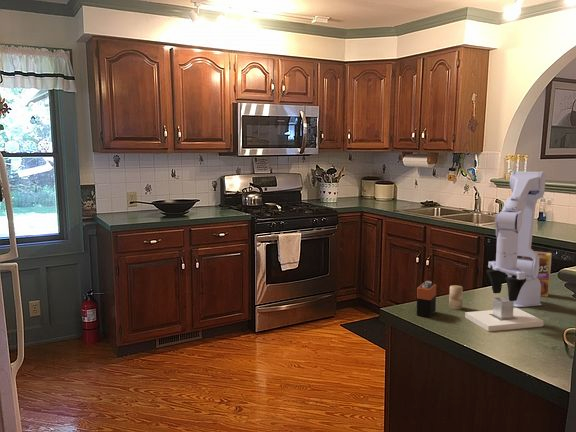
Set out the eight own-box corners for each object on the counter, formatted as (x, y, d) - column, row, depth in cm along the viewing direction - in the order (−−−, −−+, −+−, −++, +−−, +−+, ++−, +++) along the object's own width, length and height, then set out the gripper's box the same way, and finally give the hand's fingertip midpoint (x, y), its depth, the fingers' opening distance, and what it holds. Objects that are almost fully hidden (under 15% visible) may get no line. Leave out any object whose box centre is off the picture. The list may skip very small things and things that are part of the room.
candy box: (519, 293, 176) (522, 251, 174) (521, 290, 179) (524, 249, 177) (547, 297, 171) (550, 254, 169) (549, 294, 175) (552, 252, 172)
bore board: (516, 312, 156) (516, 307, 156) (543, 326, 144) (543, 320, 144) (465, 317, 152) (465, 312, 152) (488, 331, 141) (488, 326, 140)
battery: (435, 311, 158) (436, 281, 156) (429, 318, 152) (430, 286, 151) (422, 309, 160) (423, 279, 159) (415, 315, 154) (416, 284, 153)
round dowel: (457, 305, 164) (458, 284, 163) (464, 309, 160) (465, 288, 159) (446, 306, 163) (447, 285, 162) (453, 310, 159) (453, 289, 158)
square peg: (504, 319, 151) (505, 296, 150) (512, 323, 147) (513, 300, 146) (492, 320, 150) (493, 297, 149) (500, 324, 146) (501, 301, 145)
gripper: (480, 247, 152) (478, 290, 154) (510, 258, 137) (508, 305, 139) (500, 246, 153) (498, 289, 155) (532, 256, 139) (530, 303, 141)
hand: (504, 296), depth 147 cm, fingers open, 7 cm apart
